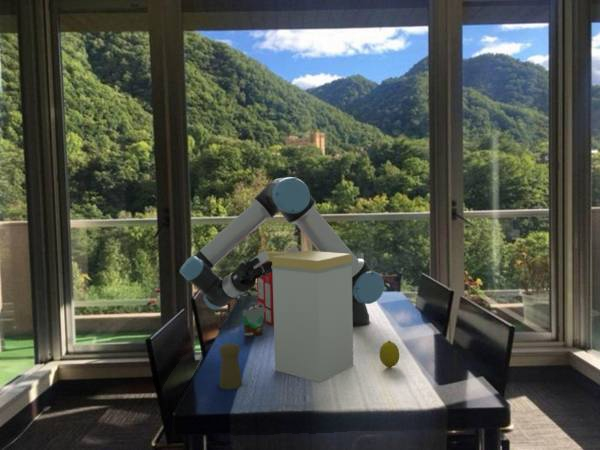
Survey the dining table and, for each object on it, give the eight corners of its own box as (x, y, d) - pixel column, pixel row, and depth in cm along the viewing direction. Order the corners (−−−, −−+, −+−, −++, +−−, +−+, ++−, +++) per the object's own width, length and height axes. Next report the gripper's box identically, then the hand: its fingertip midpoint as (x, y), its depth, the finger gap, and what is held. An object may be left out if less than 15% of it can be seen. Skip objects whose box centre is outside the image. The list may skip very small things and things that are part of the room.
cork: (220, 381, 142) (218, 341, 141) (242, 380, 143) (241, 340, 142) (218, 389, 136) (217, 348, 135) (242, 388, 137) (240, 347, 136)
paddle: (244, 262, 154) (243, 251, 154) (279, 256, 167) (279, 246, 166) (318, 270, 137) (317, 257, 137) (351, 262, 150) (351, 251, 150)
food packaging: (285, 324, 200) (283, 258, 198) (272, 326, 197) (270, 260, 196) (270, 316, 213) (268, 254, 211) (257, 317, 211) (256, 255, 209)
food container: (260, 339, 181) (259, 310, 180) (243, 338, 182) (242, 310, 181) (269, 329, 193) (268, 302, 192) (253, 329, 194) (252, 302, 193)
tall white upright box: (274, 370, 150) (271, 265, 147) (309, 355, 162) (307, 258, 160) (320, 382, 139) (318, 270, 137) (354, 365, 152) (352, 262, 150)
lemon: (400, 366, 151) (400, 338, 150) (397, 372, 146) (397, 344, 145) (381, 364, 153) (381, 337, 152) (377, 370, 147) (377, 342, 147)
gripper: (270, 286, 176) (313, 258, 164) (214, 299, 157) (258, 269, 145) (261, 265, 178) (303, 236, 166) (205, 276, 159) (248, 244, 146)
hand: (282, 251), depth 155 cm, fingers open, 13 cm apart
